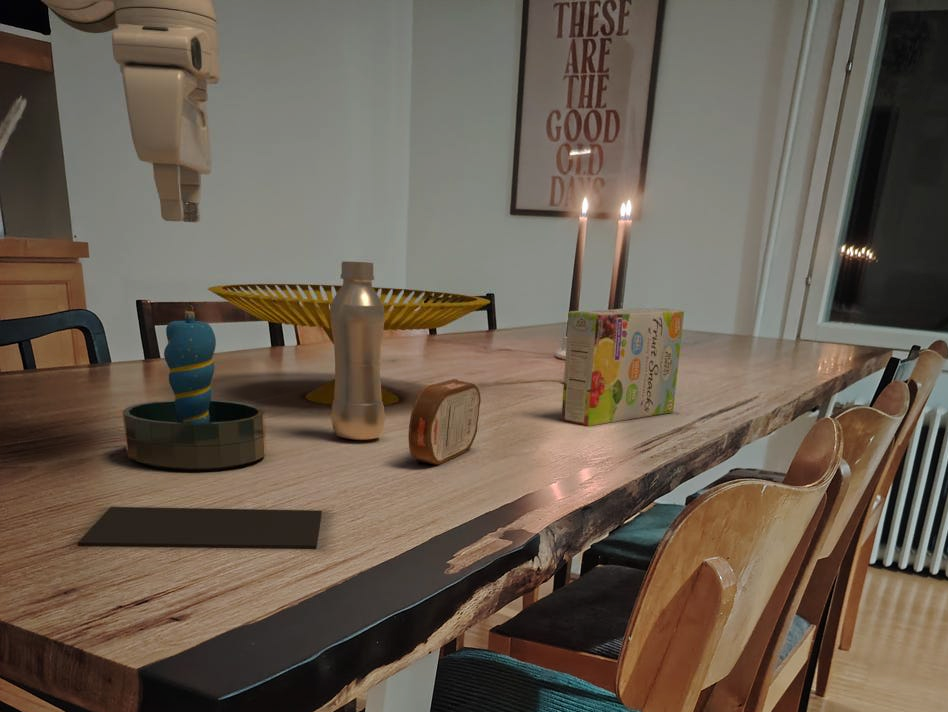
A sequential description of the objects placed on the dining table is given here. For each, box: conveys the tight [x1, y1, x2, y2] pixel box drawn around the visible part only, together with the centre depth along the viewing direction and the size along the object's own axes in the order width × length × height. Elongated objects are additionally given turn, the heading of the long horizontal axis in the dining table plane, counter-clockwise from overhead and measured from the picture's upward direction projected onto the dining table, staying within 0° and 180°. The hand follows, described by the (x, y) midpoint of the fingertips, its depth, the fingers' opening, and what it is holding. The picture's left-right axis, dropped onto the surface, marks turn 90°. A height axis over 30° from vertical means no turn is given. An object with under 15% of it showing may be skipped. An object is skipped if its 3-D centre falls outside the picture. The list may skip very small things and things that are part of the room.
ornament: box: [163, 306, 217, 423], centre depth 96 cm, size 5×5×15 cm
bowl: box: [121, 399, 267, 472], centre depth 98 cm, size 14×14×5 cm
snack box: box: [560, 307, 685, 427], centre depth 133 cm, size 21×6×15 cm, turn 136°
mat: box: [77, 506, 323, 550], centre depth 76 cm, size 18×10×1 cm, turn 97°
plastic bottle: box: [329, 260, 386, 442], centre depth 108 cm, size 6×7×20 cm
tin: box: [407, 378, 481, 466], centre depth 104 cm, size 15×3×8 cm, turn 159°
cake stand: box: [207, 283, 491, 406], centre depth 137 cm, size 40×40×15 cm
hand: (182, 221), depth 90 cm, fingers open, 8 cm apart
